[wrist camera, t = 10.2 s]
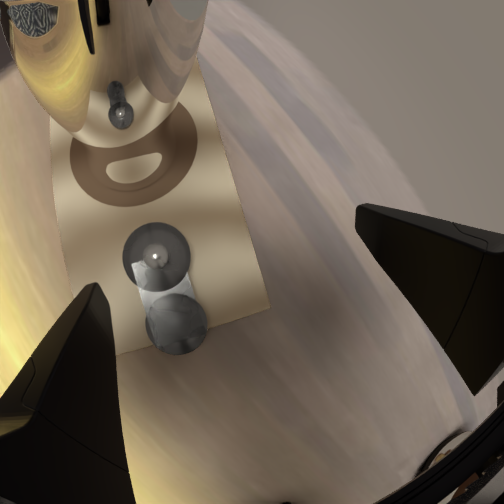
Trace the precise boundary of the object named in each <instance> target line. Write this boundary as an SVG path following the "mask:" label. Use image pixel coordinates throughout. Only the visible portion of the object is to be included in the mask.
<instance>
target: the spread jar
mask: <svg viewBox="0 0 504 504" xmlns="http://www.w3.org/2000/svg"><path fill="white" fill-rule="evenodd" d="M471 433H472V432H470V431H467V432H462V433H459V434H457V435H454V436H452V437H450V438H449V439H447V440H446V441H444V442H443V443H442V444H440V445H439V446H438V447H437V448H436V449H435V450H434V452H433V453H432V454H431V455H430V457H429V458H428V460H427V461H426V463H425V465H424V467H423V469H422V472H421V473H423V472H424V471H425V470H427V469H428V468H430V467H431V466H432V465H434V464H435V463H436V462H437V461H439V460H440V459H441V458H443V457H444V456H445V455H446V454H448V453H449V452H450V451H451V450H452V449H454V448H455V447H456V446H457V445H458V444H460V443H461V442H462V441H463V440H464V439H465V438H466V437H467V436H469V435H470V434H471ZM478 478H479V477H478V476H477V474H476V473H474V474H473V475H472V476H470V477H469V478H468V479H467V480H466V481H465V482H464V483H463V484H461V485H460V486H459V487H458V488H457V489H456V490H454V491H453V492H452V493H451V494H450V495H448V496H447V497H446V498H444V499H443V500H442V501H441V502H439V503H438V504H447V503H448V502H449V501H450V500H452V499H454V498H456V497H458V496H459V495H461V494H463V493H464V492H466V490H465V488H466V487H467V486H468V485H469V484H471V483H472V482H474V481H475V480H477V479H478Z"/></svg>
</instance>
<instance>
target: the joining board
mask: <svg viewBox="0 0 504 504" xmlns="http://www.w3.org/2000/svg"><path fill="white" fill-rule="evenodd" d="M171 123H172V126H173V129H174V132H175V136H176V152H175V156H174V159H173V161H172V163H171V165H170V167H169V168H168V170H167V171H166V172H165V174H164V175H163V176H162V177H161V178H159V179H158V180H157V181H156V182H154V183H153V184H151V185H149V186H147V187H145V188H142V189H138V190H134V191H119V190H114V189H111V188H109V187H107V186H105V185H103V184H102V183H100V182H99V181H98V180H97V179H96V178H95V177H94V175H93V174H92V172H91V170H90V168H89V166H88V162H87V157H86V151H85V147H84V146H83V145H82V144H81V143H80V142H79V141H78V140H77V139H75V138H74V137H73V136H72V135H71V134H69V133H68V132H67V131H66V130H65V129H64V128H63V127H61V126H60V125H59V124H58V123H57V122H56V121H55V120H54V119H53V118H52V117H51V116H50V151H51V169H52V181H53V191H54V200H55V208H56V216H57V222H58V229H59V235H60V240H61V246H62V251H63V256H64V261H65V265H66V270H67V274H68V278H69V282H70V286H71V290H72V294H73V298H75V297H76V296H77V295H78V293H79V292H80V291H81V290H82V289H83V287H84V286H85V285H87V284H90V283H93V282H97V283H98V284H99V285H100V287H101V288H102V290H103V292H104V294H105V296H106V298H107V300H108V302H109V304H110V310H111V318H112V327H113V334H114V341H115V351H116V355H119V354H123V353H127V352H131V351H134V350H138V349H142V348H145V347H149V346H152V345H154V344H153V343H152V342H151V340H150V339H149V337H148V335H147V332H146V327H145V319H146V313H145V309H144V306H143V303H142V300H141V296H140V293H139V289H138V286H136V285H135V284H134V283H133V282H132V281H131V280H130V279H129V277H128V276H127V274H126V272H125V269H124V266H123V261H122V254H123V248H124V245H125V242H126V240H127V239H128V237H129V236H130V235H131V233H132V232H133V231H134V230H136V229H137V228H138V227H140V226H142V225H144V224H147V223H151V222H162V223H166V224H169V225H171V226H173V227H175V228H176V229H178V230H179V231H180V232H181V233H182V234H183V235H184V237H185V238H186V240H187V242H188V245H189V248H190V253H191V261H190V266H189V270H188V276H189V279H190V283H191V286H192V289H193V293H194V296H195V299H196V301H197V302H198V303H199V304H200V305H201V307H202V308H203V310H204V312H205V314H206V317H207V323H208V324H207V329H210V328H213V327H216V326H219V325H222V324H225V323H228V322H231V321H234V320H237V319H240V318H243V317H246V316H249V315H252V314H255V313H258V312H261V311H264V310H267V309H270V308H271V305H270V302H269V298H268V295H267V292H266V288H265V285H264V281H263V278H262V275H261V271H260V268H259V265H258V261H257V258H256V254H255V251H254V248H253V244H252V241H251V238H250V234H249V231H248V227H247V224H246V221H245V217H244V214H243V211H242V207H241V204H240V201H239V197H238V194H237V190H236V187H235V184H234V180H233V177H232V174H231V170H230V167H229V164H228V160H227V157H226V154H225V150H224V147H223V144H222V140H221V137H220V134H219V130H218V127H217V124H216V120H215V117H214V114H213V110H212V107H211V104H210V100H209V97H208V94H207V90H206V87H205V84H204V80H203V77H202V74H201V70H200V67H199V64H198V60H197V57H196V58H195V61H194V64H193V66H192V69H191V72H190V74H189V77H188V80H187V82H186V85H185V87H184V89H183V92H182V94H181V96H180V99H179V101H178V103H177V106H176V108H175V110H174V113H173V116H172V119H171Z"/></svg>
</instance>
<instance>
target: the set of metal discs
mask: <svg viewBox="0 0 504 504" xmlns="http://www.w3.org/2000/svg"><path fill="white" fill-rule="evenodd" d="M122 261H123V266H124V269H125V272H126V274H127V276H128V277H129V279H130V280H131V281H132V282H133V283H134V284H135V285H136V286H138V289H139V293H140V296H141V300H142V303H143V306H144V309H145V313H146V319H145V327H146V332H147V335H148V337H149V339H150V340H151V342H152V343H153V344H154V345H155V346H156V347H157V348H158V349H160V350H161V351H163V352H165V353H168V354H173V355H182V354H186V353H189V352H191V351H193V350H195V349H196V348H197V347H198V346H199V345H200V344H201V343H202V342H203V340H204V338H205V336H206V333H207V324H208V323H207V317H206V314H205V312H204V310H203V308H202V307H201V305H200V304H199V303H198V302H197V301H196V299H195V296H194V293H193V289H192V286H191V283H190V279H189V276H188V270H189V266H190V261H191V253H190V248H189V245H188V242H187V240H186V238H185V237H184V235H183V234H182V233H181V232H180V231H179V230H178V229H176V228H175V227H173V226H171V225H169V224H166V223H162V222H151V223H147V224H144V225H142V226H140V227H138V228H137V229H136V230H134V231H133V232H132V233H131V235H130V236H129V237H128V239H127V240H126V242H125V245H124V248H123V254H122Z"/></svg>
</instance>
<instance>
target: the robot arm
mask: <svg viewBox="0 0 504 504" xmlns="http://www.w3.org/2000/svg"><path fill="white" fill-rule="evenodd" d="M355 229H356V232H357V233H358V235H359V236H360V238H361V239H362V241H363V242H364V243H365V245H366V246H367V248H368V249H369V251H370V252H371V254H372V255H373V257H374V258H375V260H376V261H377V262H378V264H379V265H380V266H381V267H382V269H383V270H384V271H385V272H386V274H387V275H388V276H389V277H390V278H391V280H392V281H393V282H394V283H395V285H396V286H397V287H398V289H399V290H400V291H401V292H402V294H403V295H404V296H405V298H406V299H407V300H408V301H409V303H410V304H411V305H412V307H413V308H414V309H415V311H416V312H417V313H418V315H419V316H420V317H421V319H422V320H423V321H424V323H425V324H426V325H427V327H428V328H429V330H430V331H431V332H432V334H433V335H434V337H435V338H436V339H437V341H438V342H439V344H440V345H441V347H442V348H443V349H444V351H445V353H446V354H447V356H448V357H449V359H450V360H451V362H452V363H453V365H454V366H455V368H456V369H457V371H458V372H459V374H460V375H461V377H462V378H463V380H464V382H465V383H466V385H467V386H468V388H469V390H470V391H471V393H472V394H473V395H474V396H475V395H476V394H478V393H479V392H480V391H481V390H482V389H483V388H484V387H485V386H486V385H487V384H488V383H489V382H490V381H491V380H492V379H493V378H494V377H495V376H496V375H497V374H498V373H499V372H500V371H501V369H502V368H503V367H504V234H500V233H495V232H491V231H487V230H483V229H478V228H474V227H470V226H466V225H461V224H458V223H454V222H452V223H451V222H450V221H446V220H442V219H437V218H434V217H430V216H425V215H421V214H417V213H412V212H408V211H403V210H398V209H394V208H389V207H384V206H379V205H374V204H369V203H365V204H361V205H358V206H357V208H356V217H355ZM474 473H476V474H477V476H478V477H479V478H478V479H477V480H475V481H474V482H472V483H471V484H469V485H468V486H467V487H466V488H465V490H466V492H464V493H463V494H461V495H459V496H458V497H456V498H454V499H452V500H450V501H449V502H448V503H447V504H504V381H503V382H502V383H501V385H500V386H499V387H498V388H497V408H496V409H495V410H494V411H493V412H492V413H491V414H490V415H489V416H488V417H487V418H486V419H485V420H484V421H483V422H482V423H481V424H480V425H479V426H478V427H477V428H476V429H475V430H474V431H473V432H472V433H471V434H470V435H469V436H467V437H466V438H465V439H464V440H463V441H462V442H461V443H460V444H458V445H457V446H456V447H455V448H454V449H452V450H451V451H450V452H449V453H448V454H446V455H445V456H444V457H443V458H441V459H440V460H439V461H437V462H436V463H435V464H434V465H432V466H431V467H430V468H428V469H427V470H425V471H424V472H423V473H421V474H420V475H418V476H417V477H416V478H414V479H413V480H411V481H410V482H408V483H407V484H405V485H404V486H402V487H400V488H399V489H397V490H396V491H394V492H392V493H391V494H389V495H387V496H386V497H384V498H382V499H381V500H379V501H377V502H375V503H373V504H438V503H439V502H441V501H442V500H443V499H444V498H446V497H447V496H448V495H450V494H451V493H452V492H453V491H454V490H456V489H457V488H458V487H459V486H460V485H461V484H463V483H464V482H465V481H466V480H467V479H468V478H469V477H470V476H472V475H473V474H474ZM0 504H136V501H135V497H134V493H133V488H132V483H131V479H130V474H129V469H128V464H127V458H126V452H125V446H124V440H123V432H122V425H121V417H120V408H119V397H118V385H117V371H116V351H115V341H114V334H113V327H112V318H111V310H110V304H109V302H108V300H107V298H106V296H105V294H104V292H103V290H102V288H101V287H100V285H99V284H98V283H97V282H93V283H90V284H87V285H85V286H84V287H83V289H82V290H81V291H80V292H79V293H78V295H77V296H76V297H75V298H74V300H73V301H72V302H71V303H70V304H69V306H68V307H67V308H66V309H65V311H64V312H63V313H62V315H61V316H60V317H59V318H58V320H57V321H56V322H55V324H54V325H53V326H52V327H51V329H50V330H49V331H48V333H47V334H46V335H45V337H44V338H43V339H42V341H41V342H40V344H39V345H38V346H37V348H36V349H35V350H34V352H33V353H32V355H31V357H29V359H28V360H27V362H26V363H25V365H24V366H23V368H22V369H21V370H20V372H19V373H18V375H17V376H16V378H15V379H14V380H13V382H12V383H11V384H10V386H9V387H8V388H7V390H6V391H5V392H4V394H3V395H2V397H1V398H0ZM283 504H291V503H289V502H286V503H283Z"/></svg>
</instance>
